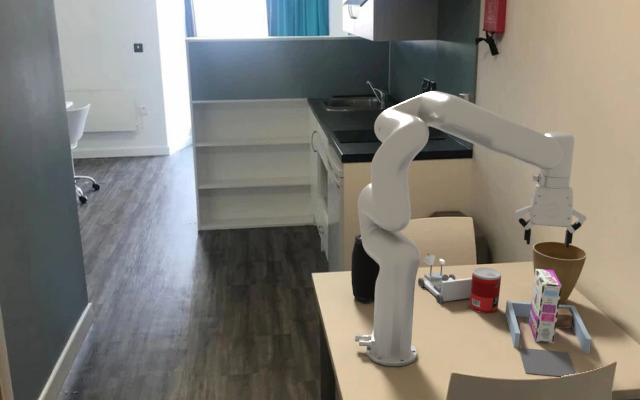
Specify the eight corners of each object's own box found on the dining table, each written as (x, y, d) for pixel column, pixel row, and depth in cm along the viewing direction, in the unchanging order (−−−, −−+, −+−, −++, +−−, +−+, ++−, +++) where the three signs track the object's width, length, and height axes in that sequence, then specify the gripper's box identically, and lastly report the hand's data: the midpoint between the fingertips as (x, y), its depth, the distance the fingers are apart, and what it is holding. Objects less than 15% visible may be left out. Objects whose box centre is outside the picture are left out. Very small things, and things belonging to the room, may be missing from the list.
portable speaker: (386, 302, 191) (389, 240, 185) (355, 306, 189) (357, 242, 183) (376, 290, 199) (378, 230, 193) (347, 293, 197) (348, 232, 191)
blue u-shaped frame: (513, 347, 167) (515, 332, 166) (505, 313, 185) (506, 300, 184) (589, 353, 164) (591, 339, 163) (572, 318, 183) (574, 305, 181)
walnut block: (555, 327, 178) (557, 314, 177) (551, 320, 182) (553, 307, 180) (570, 328, 177) (572, 315, 176) (566, 321, 181) (568, 308, 180)
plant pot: (551, 314, 185) (558, 262, 180) (516, 294, 198) (522, 244, 193) (591, 306, 191) (598, 255, 186) (554, 286, 204) (561, 238, 199)
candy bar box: (555, 344, 169) (562, 286, 164) (535, 342, 169) (542, 284, 165) (546, 324, 179) (553, 268, 175) (528, 322, 180) (534, 267, 175)
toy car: (415, 253, 204) (448, 249, 207) (413, 282, 207) (446, 278, 210) (442, 275, 187) (478, 271, 191) (440, 306, 190) (475, 301, 193)
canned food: (498, 314, 184) (502, 279, 181) (469, 312, 186) (472, 276, 183) (497, 303, 192) (500, 268, 188) (469, 300, 193) (472, 266, 190)
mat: (525, 373, 155) (525, 372, 155) (519, 348, 166) (519, 347, 166) (578, 378, 153) (578, 377, 153) (568, 352, 165) (568, 351, 165)
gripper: (519, 182, 164) (513, 246, 169) (592, 187, 160) (584, 252, 165) (517, 175, 171) (512, 236, 176) (588, 179, 167) (580, 242, 172)
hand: (547, 244), depth 170 cm, fingers open, 9 cm apart
